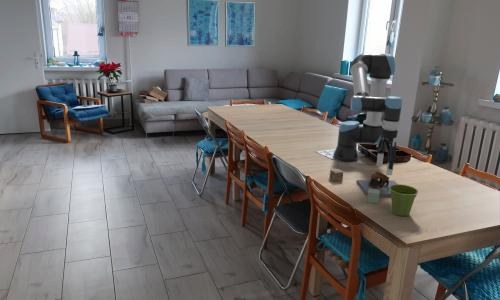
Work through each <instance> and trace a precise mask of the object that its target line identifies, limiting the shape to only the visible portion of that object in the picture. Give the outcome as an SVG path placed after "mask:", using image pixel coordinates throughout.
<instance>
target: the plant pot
mask: <svg viewBox="0 0 500 300" xmlns="http://www.w3.org/2000/svg"><path fill="white" fill-rule="evenodd" d="M390 190H391V211H392V213H393V214H394V215H395V216H396V215H397V216H399V217H407V216H409V215H410V213H411V211H412V207H413V204H414V202H415V199H416V197H417V195H418V194H419V191H420V190H418V189H417V188H415V187H413V186H410V185H407V184H400V183H399V184H398V183H397V184H396V185H392V186H390Z"/></svg>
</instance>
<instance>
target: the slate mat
mask: <svg viewBox="0 0 500 300" xmlns="http://www.w3.org/2000/svg"><path fill="white" fill-rule="evenodd" d="M369 181H371V179H356V183H357V185H358V186H359V187H360V189H361V190H362V191H363V193H364V194H365V195H366V197H368V190H369V188H370V189H377V190H380V194H379V197H382V198H383V197H384V198H385V197H387V198H388V197H389V198H390V197H391V190H390V186H392V185H396V184H398V182H396V181H395V180H389V185H388V186H386V184H387V183H385V184H384V186H383V188H379V187H378V186H377V188H373V187H371V186H369V185H368V184H369ZM391 198H392V197H391Z"/></svg>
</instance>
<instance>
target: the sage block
mask: <svg viewBox="0 0 500 300" xmlns="http://www.w3.org/2000/svg"><path fill="white" fill-rule="evenodd" d="M379 194H380V190H377V189H370V188H369V190H368V196H367V199H366V202H367V203H372V204H379V200H380V196H379Z"/></svg>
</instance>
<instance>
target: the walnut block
mask: <svg viewBox="0 0 500 300" xmlns="http://www.w3.org/2000/svg"><path fill="white" fill-rule="evenodd" d="M343 178H344V171H343V170H341V169H340V168H337V169H336V168H334V169H333V168H332V169H331V168H330V171H329V179H330V180H331V181H333V182H342V181H344V180H343Z"/></svg>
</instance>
